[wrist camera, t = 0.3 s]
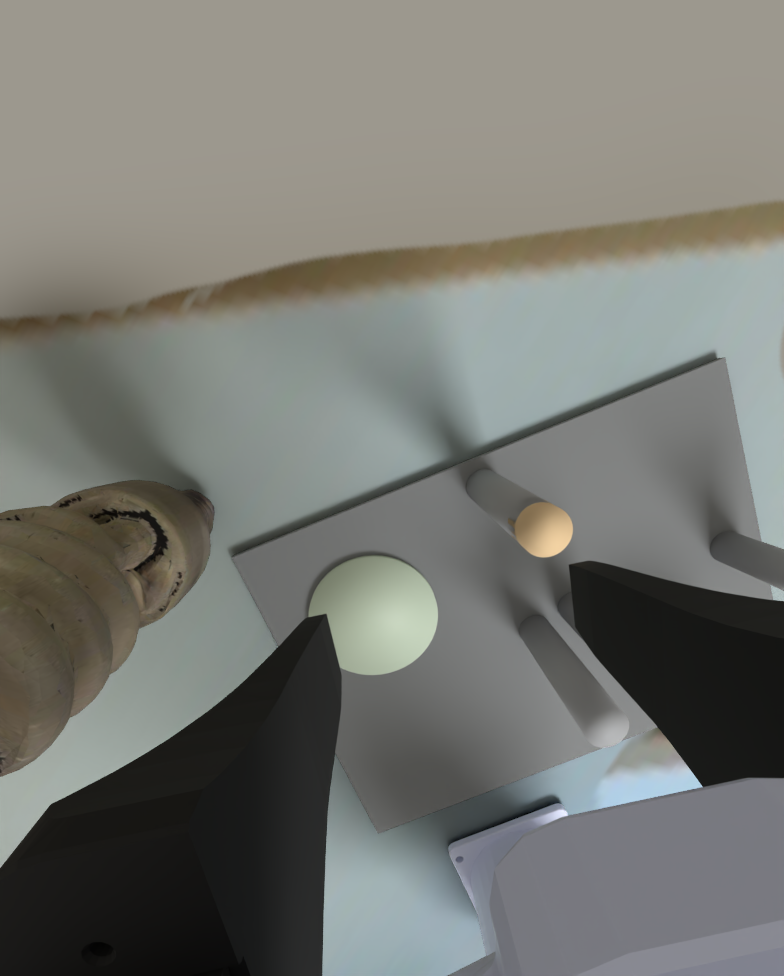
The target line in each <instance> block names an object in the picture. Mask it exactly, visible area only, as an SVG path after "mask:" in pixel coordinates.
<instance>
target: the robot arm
mask: <svg viewBox="0 0 784 976" xmlns="http://www.w3.org/2000/svg"><path fill="white" fill-rule="evenodd" d="M569 572H570V582H571V592H572V602H573V612H574V622H575V628H576V629H577V631H578V632H579V634H580V635H581V637H582V638H583V640H584V641H585V643H586V644H587V646H588V647H589V649H590V650H591V651H592V653H593V654H594V656H595V657H596V658H597V659H598V660H599V662H600V663H601V664H602V665H603V666H604V667H605V668H606V670H607V671H608V672H609V673H610V674H611V675H612V676H613V678H614V679H615V680H616V681H617V682H618V683H619V684H620V685H621V686H622V688H623V689H624V690H625V691H626V692H627V693H628V694H629V695H630V696H631V698H632V699H633V700H634V701H635V702H636V703H637V704H638V705H639V707H640V708H641V709H642V710H643V711H644V712H645V713H646V714H647V715H648V717H649V718H650V719H651V720H652V721H653V722H654V723H655V724H656V726H657V727H658V728H659V729H660V730H661V732H662V733H663V734H664V735H665V736H666V738H667V739H668V740H669V741H670V743H671V744H672V746H673V747H674V748H675V750H676V751H677V752H678V754H679V755H680V756H681V758H682V759H683V760H684V762H685V763H686V764H687V766H688V767H689V768H690V770H691V771H692V772H693V774H694V775H695V776H696V778H697V779H698V781H699V782H700V783H701V785H702V786H703V787H702V788H697V789H692V790H687V791H683V792H678V793H673V794H668V795H664V796H659V797H654V798H650V799H645V800H640V801H635V802H631V803H626V804H621V805H616V806H612V807H607V808H602V809H598V810H593V811H588V812H583V813H579V814H574V815H569V816H568V814H567V811H566V809H565V807H564V806H563V805H562V804H559V803H557V804H553V805H551V806H548V807H545V808H543V809H540V810H537V811H535V812H532V813H529V814H527V815H524V816H522V817H519V818H516V819H514V820H511V821H508V822H506V823H503V824H500V825H498V826H495V827H492V828H490V829H487V830H484V831H482V832H479V833H477V834H474V835H471V836H469V837H466V838H463V839H461V840H458V841H455V842H453V843H451V844H450V845H449V847H448V851H449V856H450V858H451V860H452V862H453V864H454V866H455V868H456V870H457V872H458V874H459V877H460V879H461V881H462V883H463V885H464V887H465V889H466V891H467V893H468V895H469V897H470V899H471V901H472V903H473V905H474V907H475V909H476V912H477V915H478V920H479V925H480V929H481V934H482V939H483V944H484V948H485V953H486V956H485V957H483V958H481V959H480V960H478V961H476V962H474V963H472V964H470V965H468V966H466V967H464V968H462V969H460V970H458V971H456V972H454V973H452V974H450V975H448V976H784V601H776V600H768V599H761V598H754V597H748V596H742V595H736V594H730V593H724V592H719V591H714V590H709V589H704V588H700V587H695V586H691V585H687V584H682V583H678V582H674V581H670V580H666V579H662V578H658V577H655V576H651V575H647V574H643V573H640V572H636V571H632V570H629V569H625V568H621V567H618V566H614V565H610V564H606V563H602V562H597V561H590V560H589V561H584V562H579V563H574V564H569ZM341 697H342V674H341V670H340V666H339V662H338V658H337V654H336V650H335V646H334V642H333V638H332V634H331V630H330V626H329V622H328V618H327V614H322V615H317V616H312V617H307V618H305V619H304V620H303V621H302V622H301V623H300V624H299V625H298V626H297V627H296V628H295V629H294V630H293V631H292V633H291V634H290V635H289V636H288V637H287V638H286V639H285V640H284V641H283V642H282V643H281V645H280V646H279V647H278V648H277V649H276V650H275V651H274V652H273V653H272V654H271V655H270V656H269V657H268V658H267V659H266V660H265V661H264V662H263V663H262V664H261V665H260V666H259V667H258V668H257V669H256V670H255V671H254V672H253V673H252V674H251V675H250V676H249V677H248V678H247V679H246V680H245V681H244V682H243V683H242V684H240V685H239V686H238V687H237V688H236V689H235V690H234V691H233V692H231V693H230V694H229V695H228V696H227V697H225V698H224V699H223V700H222V701H220V702H219V703H218V704H217V705H215V706H214V707H213V708H212V709H210V710H209V711H208V712H206V713H205V714H204V715H202V716H201V717H199V718H198V719H197V720H195V721H194V722H192V723H191V724H190V725H188V726H187V727H185V728H184V729H183V730H181V731H180V732H178V733H177V734H175V735H174V736H173V737H171V738H170V739H168V740H166V741H165V742H163V743H162V744H160V745H159V746H157V747H155V748H154V749H152V750H151V751H149V752H147V753H146V754H144V755H142V756H141V757H139V758H137V759H136V760H134V761H132V762H130V763H129V764H127V765H125V766H124V767H122V768H120V769H118V770H116V771H115V772H113V773H111V774H109V775H107V776H105V777H103V778H101V779H100V780H98V781H96V782H94V783H92V784H90V785H88V786H86V787H84V788H82V789H80V790H78V791H77V792H75V793H73V794H71V795H69V796H67V797H65V798H63V799H61V800H59V801H57V802H55V803H53V804H51V805H50V806H49V807H48V809H47V810H46V811H45V812H44V814H43V815H42V816H41V817H40V819H39V820H38V821H37V823H36V824H35V825H34V826H33V828H32V829H31V830H30V831H29V833H28V834H27V835H26V836H25V838H24V839H23V840H22V841H21V843H20V844H19V845H18V846H17V848H16V849H15V850H14V851H13V853H12V854H11V855H10V857H9V858H8V859H7V860H6V862H5V863H4V864H3V865H2V867H1V868H0V976H322V956H323V910H324V881H325V854H326V834H327V813H328V802H329V792H330V785H331V778H332V771H333V764H334V757H335V750H336V743H337V736H338V729H339V721H340V714H341Z"/></svg>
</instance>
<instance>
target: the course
mask: <svg viewBox="0 0 784 976" xmlns="http://www.w3.org/2000/svg"><path fill="white" fill-rule="evenodd" d="M367 555H383V556H388V557H393V558H396V559H399V560H401V561H403V562H406V563H407V564H409V565H411V566H412V567H414V568H415V569H416V570H417V571H419V572H420V573H421V574H422V575H423V576H424V578H425V579H426V580H427V582H428V583H429V585H430V586H431V588H432V590H433V593H434V596H435V599H436V602H437V608H438V622H437V627H436V631H435V634H434V636H433V639H432V641H431V642H430V644H429V646H428V647H427V648H426V650H425V651H424V652H423V653H422V654H421V655H420V656H419V657H418V658H417V659H416V660H415V661H413V662H412V663H411V664H409V665H407V666H406V667H404V668H402V669H399V670H397V671H394V672H391V673H386V674H381V675H363V674H357V673H353V672H349V671H347V670H344V669H342V668H340V670H341V674H342V697H341V714H340V721H339V729H338V736H337V743H336V750H335V754H336V755H337V757H338V759H339V761H340V763H341V765H342V767H343V769H344V770H345V772H346V774H347V776H348V778H349V780H350V782H351V784H352V786H353V787H354V789H355V791H356V793H357V795H358V797H359V799H360V801H361V802H362V804H363V806H364V808H365V810H366V812H367V814H368V816H369V817H370V819H371V821H372V823H373V825H374V827H375V829H376V831H377V833H381V832H384V831H386V830H389V829H391V828H394V827H397V826H399V825H402V824H405V823H407V822H410V821H412V820H415V819H418V818H420V817H423V816H426V815H428V814H431V813H433V812H436V811H439V810H441V809H444V808H447V807H449V806H452V805H454V804H457V803H460V802H462V801H465V800H468V799H470V798H473V797H475V796H478V795H481V794H483V793H486V792H489V791H491V790H494V789H496V788H499V787H502V786H504V785H507V784H510V783H512V782H515V781H517V780H520V779H523V778H525V777H528V776H531V775H533V774H536V773H539V772H541V771H544V770H546V769H549V768H552V767H554V766H557V765H560V764H562V763H565V762H567V761H570V760H573V759H575V758H578V757H581V756H583V755H586V754H588V753H591V752H594V751H596V750H599V749H602V748H607V747H611V746H614V745H616V744H618V743H619V742H621V741H623V740H625V739H628V738H630V737H633V736H636V735H638V734H641V733H644V732H646V731H649V730H651V729H654V728H657V726H656V724H655V723H654V722H653V721H652V720H651V719H650V718H649V717H648V715H647V714H646V713H645V712H644V711H643V710H642V709H641V708H640V707H639V705H638V704H637V703H636V702H635V701H634V700H633V699H632V698H631V696H630V695H629V694H628V693H627V692H626V691H625V690H624V689H623V688H622V686H621V685H620V684H619V683H618V682H617V681H616V680H615V679H614V678H613V676H612V675H611V674H610V673H609V672H608V671H607V670H606V668H605V667H604V666H603V665H602V664H601V663H600V662H599V660H598V659H597V658H596V657H595V656H594V654H593V653H592V651H591V650H590V649H589V647H588V646H587V644H586V643H585V641H584V640H583V638H582V637H581V635H580V634H579V632H578V631H577V629H576V628H575V622H574V612H573V602H572V592H571V582H570V572H569V564H574V563H579V562H584V561H589V560H590V561H597V562H602V563H606V564H610V565H614V566H618V567H621V568H625V569H629V570H632V571H636V572H640V573H643V574H647V575H651V576H655V577H658V578H662V579H666V580H670V581H674V582H678V583H682V584H687V585H691V586H695V587H700V588H704V589H709V590H714V591H719V592H724V593H730V594H736V595H742V596H748V597H754V598H761V599H768V600H773V597H772V592H771V587H770V585H772V586H774V587H777V588H779V589H781V590H783V591H784V549H781V548H778V547H775V546H772V545H770V544H767V543H764V542H762V541H761V536H760V531H759V526H758V521H757V516H756V511H755V506H754V501H753V496H752V491H751V486H750V481H749V476H748V470H747V465H746V460H745V455H744V450H743V445H742V440H741V435H740V430H739V425H738V420H737V415H736V410H735V405H734V400H733V395H732V390H731V385H730V380H729V374H728V369H727V364H726V359H725V358H718V359H716V360H713V361H711V362H708V363H706V364H703V365H701V366H698V367H696V368H693V369H691V370H688V371H686V372H684V373H681V374H679V375H676V376H674V377H671V378H669V379H666V380H664V381H661V382H659V383H656V384H654V385H652V386H649V387H647V388H644V389H642V390H639V391H637V392H634V393H632V394H629V395H627V396H624V397H622V398H619V399H617V400H615V401H612V402H610V403H607V404H605V405H602V406H600V407H597V408H595V409H592V410H590V411H587V412H585V413H583V414H580V415H578V416H575V417H573V418H570V419H568V420H565V421H563V422H560V423H558V424H555V425H553V426H550V427H548V428H546V429H543V430H541V431H538V432H536V433H533V434H531V435H528V436H526V437H523V438H521V439H518V440H516V441H514V442H511V443H509V444H506V445H504V446H501V447H499V448H496V449H494V450H491V451H489V452H486V453H484V454H481V455H479V456H477V457H474V458H472V459H469V460H467V461H464V462H462V463H459V464H457V465H454V466H452V467H449V468H447V469H445V470H442V471H440V472H437V473H435V474H432V475H430V476H427V477H425V478H422V479H420V480H417V481H415V482H413V483H410V484H408V485H405V486H403V487H400V488H398V489H395V490H393V491H390V492H388V493H385V494H383V495H380V496H378V497H376V498H373V499H371V500H368V501H366V502H363V503H361V504H358V505H356V506H353V507H351V508H348V509H346V510H344V511H341V512H339V513H336V514H334V515H331V516H329V517H326V518H324V519H321V520H319V521H316V522H314V523H311V524H309V525H307V526H304V527H302V528H299V529H297V530H294V531H292V532H289V533H287V534H284V535H282V536H279V537H277V538H275V539H272V540H270V541H267V542H265V543H262V544H260V545H257V546H255V547H252V548H250V549H247V550H245V551H242V552H240V553H238V554H235V555H234V556H233V557H232V560H233V562H234V563H235V565H236V567H237V569H238V571H239V573H240V575H241V577H242V578H243V580H244V582H245V584H246V586H247V588H248V590H249V592H250V594H251V595H252V597H253V599H254V601H255V603H256V605H257V607H258V609H259V610H260V612H261V614H262V616H263V618H264V620H265V622H266V624H267V626H268V627H269V629H270V631H271V633H272V635H273V637H274V639H275V641H276V642H277V644H278V646H280V645H281V643H282V642H283V641H284V640H285V639H286V638H287V637H288V636H289V635H290V634H291V633H292V631H293V630H294V629H295V628H296V627H297V626H298V625H299V624H300V623H301V622H302V621H303V620H304V619H305V618H307V617H308V616H309V607H310V602H311V599H312V596H313V593H314V591H315V589H316V587H317V586H318V584H319V583H320V581H321V580H322V579H323V578H324V577H325V576H326V574H327V573H329V572H330V571H331V570H332V569H333V568H335V567H336V566H338V565H340V564H341V563H343V562H345V561H348V560H350V559H353V558H356V557H361V556H367Z"/></svg>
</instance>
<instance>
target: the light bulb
mask: <svg viewBox="0 0 784 976" xmlns="http://www.w3.org/2000/svg"><path fill="white" fill-rule="evenodd" d="M213 520H214V507H213V505H212V503H211V501H210V500H209V499H207V498H206V497H205V496H203V495H202V494H201V493H199V492H196V491H193V490H186V491H179V490H176V489H174V488H172V487H170V486H167V485H164V484H161V483H157V482H151V481H142V480H130V481H123V482H117V483H112V484H107V485H102V486H98V487H93V488H90V489H85V490H82V491H79V492H76V493H72V494H70V495H67V496H65V497H64V498H62V499H60V500H59V501H57V502H56V503H54V504H53V505H51V506H40V507H32V508H24V509H16V510H8V511H5V512H2V513H0V777H1V776H4V775H7V774H9V773H12V772H14V771H17V770H19V769H21V768H23V767H24V766H26V765H28V764H29V763H31V762H32V761H34V760H35V759H36V758H38V757H39V756H40V755H41V754H42V753H43V752H44V751H45V750H46V749H47V748H49V747H50V746H51V745H52V743H53V742H54V741H55V739H56V738H57V737H58V735H59V734H60V733H61V732H62V730H63V729H64V727H65V725H66V724H67V722H68V720H69V718H70V717H72V716H74V715H76V714H78V713H79V712H80V711H81V710H83V709H84V708H85V707H86V706H87V705H88V704H90V703H91V702H92V701H93V700H94V699H95V698H96V696H97V695H98V694H99V692H100V691H101V690H102V688H103V686H104V685H105V683H106V681H107V679H108V677H109V674H111V673H113V672H115V671H116V670H117V669H118V668H119V667H120V666H121V665H122V664H123V663H124V662H125V660H126V659H127V658H128V656H129V655H130V653H131V651H132V649H133V647H134V645H135V642H136V638H137V634H138V629H139V628H142V627H144V626H147V625H149V624H151V623H153V622H155V621H157V620H159V619H160V618H162V617H163V616H164V615H165V614H167V613H168V612H169V611H170V610H171V609H172V608H174V607H175V606H176V605H177V604H178V603H179V602H180V600H181V599H182V598H183V597H184V596H185V595H186V594H187V593H188V592H189V590H190V589H191V588H192V587H193V586H194V584H195V583H196V582H197V580H198V579H199V577H200V576H201V574H202V573H203V571H204V570H205V567H206V564H207V561H208V559H209V556H210V547H211V544H210V533H211V531H212V529H213Z"/></svg>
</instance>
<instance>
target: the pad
mask: <svg viewBox="0 0 784 976" xmlns="http://www.w3.org/2000/svg"><path fill="white" fill-rule="evenodd" d="M322 614H327V618H328V622H329V626H330V630H331V634H332V638H333V642H334V646H335V650H336V654H337V658H338V662H339V666H340V668H342V669H344V670H347V671H349V672H353V673H357V674H363V675H381V674H386V673H391V672H394V671H397V670H399V669H402V668H404V667H406V666H407V665H409V664H411V663H412V662H413V661H415V660H416V659H417V658H418V657H419V656H420V655H421V654H422V653H423V652H424V651H425V650H426V648H427V647H428V646H429V644H430V642H431V641H432V639H433V636H434V634H435V631H436V627H437V622H438V608H437V602H436V599H435V596H434V593H433V590H432V588H431V586H430V585H429V583H428V582H427V580H426V579H425V578H424V576H423V575H422V574H421V573H420V572H419V571H417V570H416V569H415V568H414V567H412V566H411V565H409V564H407V563H406V562H403V561H401V560H399V559H396V558H393V557H388V556H383V555H367V556H361V557H356V558H353V559H350V560H348V561H345V562H343V563H341V564H340V565H338V566H336V567H335V568H333V569H332V570H331V571H330V572H329V573H327V574H326V576H325V577H324V578H323V579H322V580H321V581H320V583H319V584H318V586H317V587H316V589H315V591H314V593H313V596H312V599H311V602H310V607H309V616H308V617H312V616H317V615H322Z"/></svg>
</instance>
